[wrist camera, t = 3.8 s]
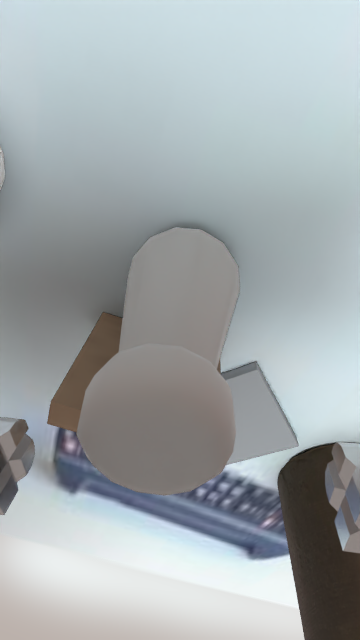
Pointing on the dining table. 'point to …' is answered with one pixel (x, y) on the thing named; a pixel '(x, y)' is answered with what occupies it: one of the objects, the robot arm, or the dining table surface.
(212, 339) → the salt shaker
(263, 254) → the dining table surface
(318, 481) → the pillar candle
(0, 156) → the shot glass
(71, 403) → the walnut box
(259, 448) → the slate mat
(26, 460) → the robot arm
